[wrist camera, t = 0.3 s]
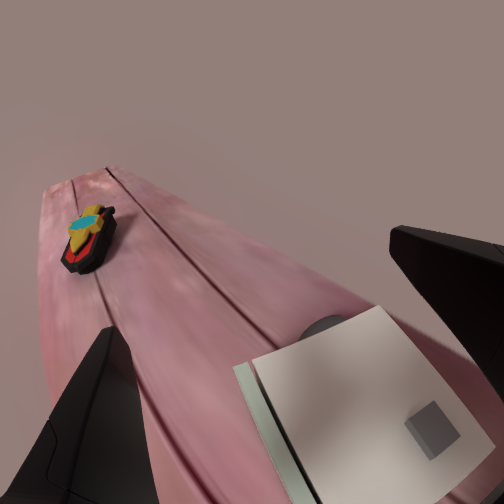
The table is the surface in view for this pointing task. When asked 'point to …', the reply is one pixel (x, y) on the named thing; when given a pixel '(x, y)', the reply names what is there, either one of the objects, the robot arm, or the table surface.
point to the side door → (272, 438)
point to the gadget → (89, 239)
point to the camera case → (369, 414)
